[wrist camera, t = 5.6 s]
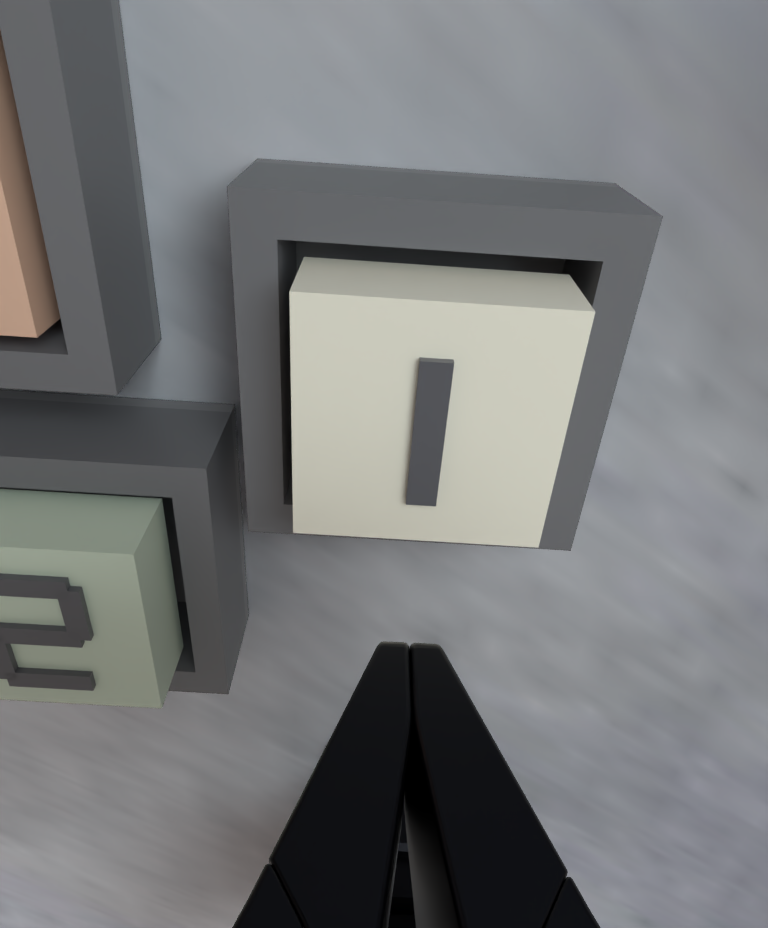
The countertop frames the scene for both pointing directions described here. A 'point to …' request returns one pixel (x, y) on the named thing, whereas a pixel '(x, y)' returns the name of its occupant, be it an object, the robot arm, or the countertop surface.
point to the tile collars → (251, 312)
